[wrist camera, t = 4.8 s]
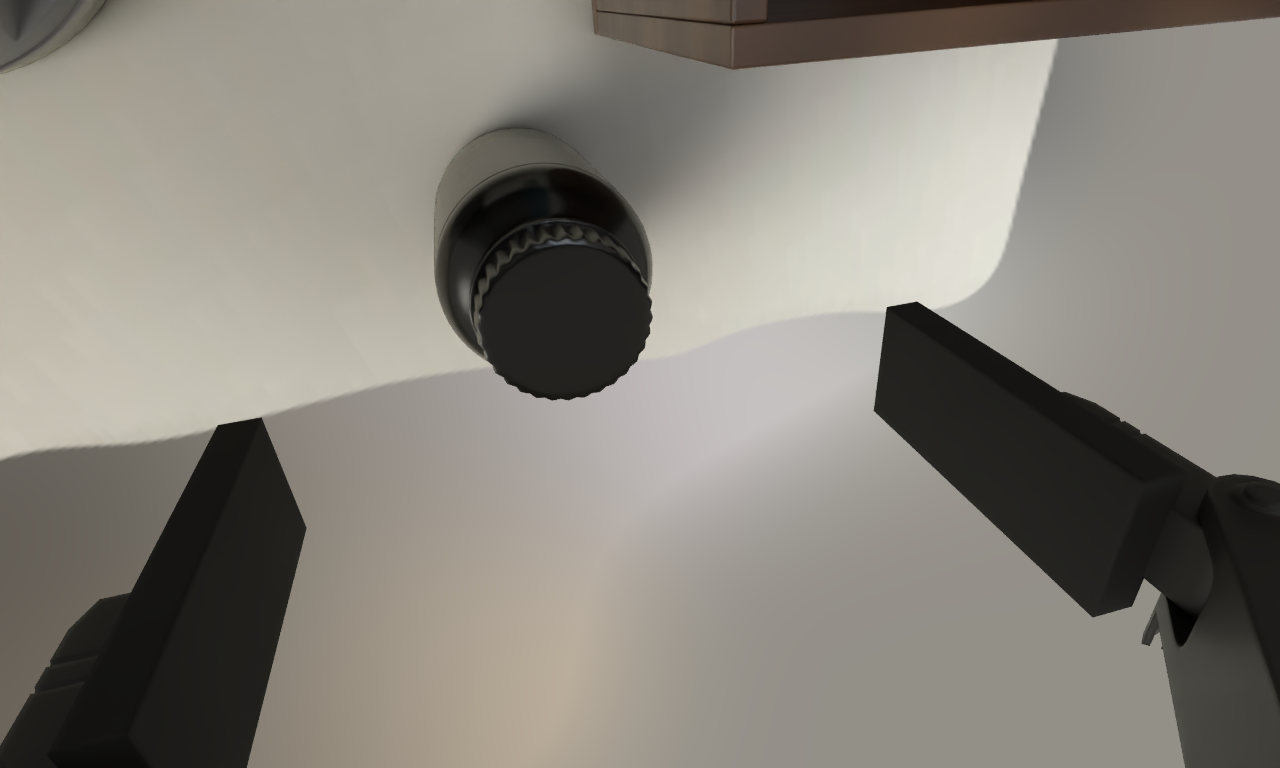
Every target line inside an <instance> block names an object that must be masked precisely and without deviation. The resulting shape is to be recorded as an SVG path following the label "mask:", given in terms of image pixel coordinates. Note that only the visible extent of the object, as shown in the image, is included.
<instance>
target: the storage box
mask: <svg viewBox="0 0 1280 768" xmlns="http://www.w3.org/2000/svg"><path fill="white" fill-rule="evenodd" d="M592 9H593V21H594V32H595V34H596V35H600V36H603V37H607V38H611V39H615V40H619V41H623V42H627V43H631V44H634V45H638V46H642V47H646V48H650V49H654V50H658V51H662V52H666V53H670V54H674V55H677V56H681V57H685V58H689V59H693V60H697V61H701V62H705V63H709V64H713V65H717V66H721V67H724V68H728V69H732V70H735V69H745V68H756V67H766V66H776V65H787V64H797V63H808V62H818V61H828V60H839V59H849V58H860V57H870V56H880V55H891V54H901V53H912V52H922V51H933V50H943V49H953V48H964V47H974V46H985V45H995V44H1005V43H1016V42H1026V41H1037V40H1047V39H1057V38H1068V37H1078V36H1089V35H1099V34H1109V33H1120V32H1130V31H1141V30H1151V29H1161V28H1172V27H1182V26H1193V25H1203V24H1213V23H1224V22H1234V21H1245V20H1255V19H1265V18H1275V17H1280V0H592Z"/></svg>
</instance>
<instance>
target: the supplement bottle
mask: <svg viewBox="0 0 1280 768" xmlns="http://www.w3.org/2000/svg"><path fill="white" fill-rule="evenodd" d="M434 265H435V282H436V288H437V293H438V297H439V301H440V304H441V307H442V309H443V312H444V314H445V316H446V318H447V320H448V322H449V324H450V325H451V327H452V329H453V330H454V332H455V333H456V334H457V335H458V337H459V338H460V339H461V340H462V341H463V342H464V343H465V344H466V345H467V346H468V347H469V348H470V349H471V350H472V351H473V352H475V353H476V354H477V355H479V356H480V357H482V358H483V359H485V360H486V361H488V362H489V363H490V364H492V365H493V369H494V371H495V373H497V374H498V375H501V376H502V377H504V379H505V381H506V383H507V384H509V385H512V386H516V387H517V388H518V389H519V391H520V392H524V393H530V394H532V395H533V396H534V397H536V398H543V397H545V398H547V399H550V400H557V399H564V400H571V399H573V398H576V397H586V396H588V395H589V394H591V393H597V392H600V391H602V390H603V389H604V388H605V387H606V386H609V385H612V384H614V383H615V382H616V381H617V379H618V378H619V377H621V376H623V375H625V374H626V373H627V372H628V370H629V368H630V366H632V365H633V364H634V363H636V362H637V360H638V356H639V353H640V352H641V351H643V349H644V348H645V340H646V338H647V337H648V336H649V334H650V327H649V325H650V323H651V321H652V318H653V316H652V313H651V311H650V309H651V305H652V300H651V298H650V296H649V294H650V289H651V284H652V255H651V249H650V244H649V241H648V238H647V234H646V232H645V229H644V227H643V225H642V223H641V221H640V219H639V218H638V216H637V214H636V213H635V211H634V210H633V208H632V207H631V206H630V204H629V203H628V202H627V201H626V199H625V198H624V197H623V196H622V195H621V194H620V193H619V192H618V191H617V190H616V189H615V188H614V187H613V186H612V185H611V184H610V183H609V182H608V181H607V180H606V179H605V178H604V177H603V176H602V175H601V174H600V173H599V172H598V171H597V170H596V169H595V168H594V167H593V166H592V165H591V164H590V163H589V162H588V161H587V160H586V159H585V158H584V157H583V156H582V155H580V154H579V153H578V152H577V151H576V150H575V149H574V148H572V147H571V146H570V145H568V144H567V143H565V142H564V141H562V140H561V139H559V138H557V137H555V136H553V135H550V134H547V133H545V132H542V131H538V130H534V129H527V128H508V129H501V130H497V131H493V132H490V133H488V134H485V135H483V136H481V137H479V138H477V139H475V140H474V141H472V142H470V143H469V144H468V145H466V146H465V147H464V148H463V149H462V150H461V151H460V152H459V153H458V154H457V155H456V156H455V157H454V158H453V159H452V161H451V162H450V164H449V165H448V167H447V168H446V170H445V172H444V174H443V176H442V178H441V181H440V184H439V187H438V190H437V194H436V201H435V218H434Z"/></svg>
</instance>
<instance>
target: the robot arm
mask: <svg viewBox="0 0 1280 768" xmlns="http://www.w3.org/2000/svg"><path fill="white" fill-rule="evenodd" d="M104 2H105V0H0V74H2V73H6V72H9V71H12V70H15V69H17V68H20V67H23V66H26V65H28V64H31V63H33V62H35V61H36V60H38V59H40V58H42V57H44V56H46V55H48V54H50V53H52V52H53V51H55V50H56V49H58V48H59V47H61V46H62V45H63V44H65V43H66V42H68V41H69V40H70V39H72V38H73V37H74V36H75V35H76V34H77V33H78V32H79V31H80V30H82V29H83V28H84V27H85V26H86V25H87V24H88V22H89V21H90V20H91V19H92V18H93V17H94V15H95V14H96V13H97V12H98V11H99V9H100V8H101V7H102V5H103V3H104ZM874 411H875V412H876V413H877V414H878V415H879V416H880V417H881V418H882V419H883V420H884V421H885V422H886V423H887V424H888V425H890V427H892V428H893V429H894V430H895V431H896V432H897V433H898V434H899V435H900V436H901V437H902V438H903V439H904V440H906V442H907V443H909V444H910V445H911V446H912V447H913V448H914V449H915V450H916V451H917V452H918V453H919V454H920V455H921V456H922V457H923V458H924V459H925V460H926V461H928V462H929V463H930V464H931V465H932V466H933V467H934V468H935V469H936V470H937V471H938V472H939V473H940V474H941V475H942V476H943V477H944V478H946V479H947V480H948V481H949V482H950V483H951V484H952V485H953V486H954V487H955V488H956V489H957V490H958V491H959V492H960V493H961V494H962V495H964V496H965V497H966V498H967V499H968V500H969V501H970V502H971V503H972V504H973V505H974V506H975V507H976V508H977V509H978V510H980V512H982V513H983V514H984V515H985V516H986V517H987V518H988V519H989V520H990V521H991V522H992V523H993V524H994V525H995V526H996V527H997V528H999V529H1000V530H1001V531H1002V532H1003V533H1004V534H1005V535H1006V536H1007V537H1008V538H1009V539H1010V540H1011V541H1012V542H1014V544H1015V545H1016V546H1018V547H1019V548H1020V549H1021V550H1022V551H1023V552H1024V553H1025V554H1026V555H1027V556H1028V557H1029V558H1030V559H1031V560H1032V561H1033V562H1035V563H1036V564H1037V565H1038V566H1039V567H1040V568H1041V569H1042V570H1043V571H1044V572H1045V573H1046V574H1047V575H1048V576H1050V578H1052V580H1054V581H1055V582H1056V583H1057V584H1058V585H1059V586H1060V587H1061V588H1062V589H1063V590H1064V591H1065V592H1066V593H1067V594H1068V595H1070V596H1071V597H1072V598H1073V599H1074V600H1075V601H1076V602H1077V603H1078V604H1079V605H1080V606H1081V607H1082V608H1083V609H1084V610H1085V611H1086V612H1087V613H1089V614H1090V615H1091V616H1092V617H1096V616H1099V615H1103V614H1107V613H1110V612H1114V611H1117V610H1121V609H1124V608H1128V607H1131V606H1132V605H1133V603H1134V600H1135V598H1136V596H1137V593H1138V591H1139V589H1140V586H1141V584H1142V581H1143V579H1144V578H1145V579H1146V580H1147V581H1148V582H1149V583H1151V584H1152V585H1153V586H1154V587H1156V588H1157V589H1158V590H1159V591H1160V592H1161V595H1160V597H1159V599H1158V602H1157V604H1156V606H1155V608H1154V611H1153V613H1152V615H1151V617H1150V620H1149V622H1148V624H1147V626H1146V629H1145V631H1144V633H1143V638H1142V644H1145V645H1148V646H1150V643H1151V642H1152V640H1153V637H1154V635H1155V634H1157V633H1159V632H1160V636H1161V641H1162V648H1161V649H1163V652H1164V657H1165V662H1166V667H1167V673H1168V678H1169V684H1170V689H1171V694H1172V700H1173V704H1174V710H1175V716H1176V720H1177V726H1178V731H1179V737H1180V742H1181V747H1182V753H1183V758H1184V763H1185V768H1280V484H1279V483H1277V482H1274V481H1271V480H1267V479H1263V478H1259V477H1255V476H1248V475H1237V474H1232V475H1225V476H1219V477H1215V476H1213V475H1212V474H1210V473H1209V472H1207V471H1205V470H1204V469H1202V468H1200V467H1199V466H1197V465H1195V464H1194V463H1192V462H1190V461H1189V460H1187V459H1186V458H1184V457H1182V456H1181V455H1179V454H1177V453H1176V452H1174V451H1172V450H1171V449H1169V448H1168V447H1166V446H1165V445H1163V444H1161V443H1160V442H1158V441H1156V440H1155V439H1153V438H1151V437H1150V436H1148V435H1146V434H1141V433H1140V430H1138V429H1137V428H1135V427H1134V426H1132V425H1130V424H1129V423H1127V422H1125V421H1124V422H1121V421H1120V418H1119V417H1117V416H1116V415H1114V414H1112V413H1111V412H1109V411H1107V410H1106V409H1104V408H1103V407H1101V406H1099V405H1098V404H1096V403H1094V402H1091V401H1088V400H1086V399H1083V398H1080V397H1078V396H1075V395H1072V394H1069V393H1067V392H1060V391H1058V390H1056V389H1055V388H1053V387H1052V386H1050V385H1049V384H1047V383H1046V382H1044V381H1042V380H1041V379H1039V378H1037V377H1036V376H1034V375H1033V374H1031V373H1030V372H1028V371H1026V370H1025V369H1023V368H1022V367H1020V366H1019V365H1017V364H1015V363H1014V362H1012V361H1011V360H1009V359H1007V358H1006V357H1004V356H1003V355H1001V354H1000V353H998V352H996V351H995V350H993V349H992V348H990V347H988V346H987V345H985V344H984V343H982V342H980V341H979V340H977V339H976V338H974V337H973V336H971V335H969V334H968V333H966V332H965V331H963V330H961V329H960V328H958V327H957V326H955V325H953V324H952V323H950V322H949V321H947V320H946V319H944V318H942V317H941V316H939V315H938V314H936V313H934V312H933V311H931V310H930V309H928V308H927V307H925V306H923V305H922V304H920V303H919V302H913V303H907V304H902V305H896V306H890V307H887V310H886V319H885V327H884V334H883V342H882V350H881V359H880V366H879V375H878V382H877V390H876V398H875V406H874ZM305 532H306V526H305V523H304V521H303V518H302V516H301V514H300V511H299V508H298V506H297V504H296V501H295V499H294V496H293V494H292V491H291V489H290V486H289V484H288V482H287V479H286V477H285V474H284V472H283V469H282V467H281V464H280V462H279V459H278V457H277V454H276V452H275V450H274V447H273V445H272V442H271V440H270V437H269V435H268V432H267V430H266V428H265V425H264V423H263V420H262V418H256V419H250V420H245V421H239V422H233V423H228V424H222V425H218V426H217V428H216V430H215V432H214V433H213V435H212V438H211V439H210V441H209V443H208V445H207V447H206V449H205V451H204V453H203V455H202V457H201V459H200V460H199V462H198V464H197V466H196V468H195V470H194V472H193V474H192V476H191V478H190V480H189V482H188V484H187V486H186V488H185V489H184V491H183V493H182V495H181V497H180V499H179V501H178V503H177V505H176V507H175V509H174V511H173V513H172V514H171V516H170V518H169V520H168V522H167V524H166V526H165V528H164V530H163V532H162V534H161V536H160V538H159V540H158V541H157V543H156V546H155V547H154V549H153V551H152V553H151V555H150V557H149V559H148V561H147V563H146V565H145V567H144V568H143V570H142V572H141V574H140V576H139V578H138V580H137V582H136V584H135V586H134V588H133V590H132V592H131V593H127V594H122V595H118V596H113V597H108V598H104V599H100V600H99V601H98V602H97V603H96V604H95V605H93V607H91V608H90V609H89V610H88V611H87V612H86V613H85V614H84V615H83V616H82V617H81V618H80V619H79V620H78V621H77V622H76V623H75V624H74V625H73V626H72V627H71V628H70V629H69V630H68V631H67V633H66V635H65V636H64V638H63V640H62V642H61V643H60V645H59V647H58V649H57V650H56V652H55V653H54V655H53V657H52V659H51V660H50V662H51V665H50V667H46V669H45V671H44V672H43V674H42V676H41V677H40V679H39V681H38V682H37V684H36V686H35V693H34V694H30V696H29V698H28V699H27V701H26V703H25V704H24V706H23V708H22V710H21V711H20V713H19V715H18V716H17V718H16V720H15V722H14V723H13V725H12V727H11V728H10V730H9V732H8V733H7V735H6V737H5V739H4V740H3V742H2V744H1V745H0V768H247V764H248V760H249V756H250V752H251V748H252V744H253V740H254V736H255V732H256V728H257V724H258V720H259V716H260V712H261V708H262V704H263V700H264V696H265V692H266V688H267V684H268V680H269V676H270V672H271V668H272V664H273V660H274V656H275V652H276V648H277V644H278V640H279V636H280V632H281V628H282V624H283V620H284V616H285V612H286V608H287V604H288V600H289V596H290V592H291V588H292V584H293V580H294V576H295V572H296V568H297V564H298V560H299V556H300V552H301V548H302V544H303V540H304V536H305Z"/></svg>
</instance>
